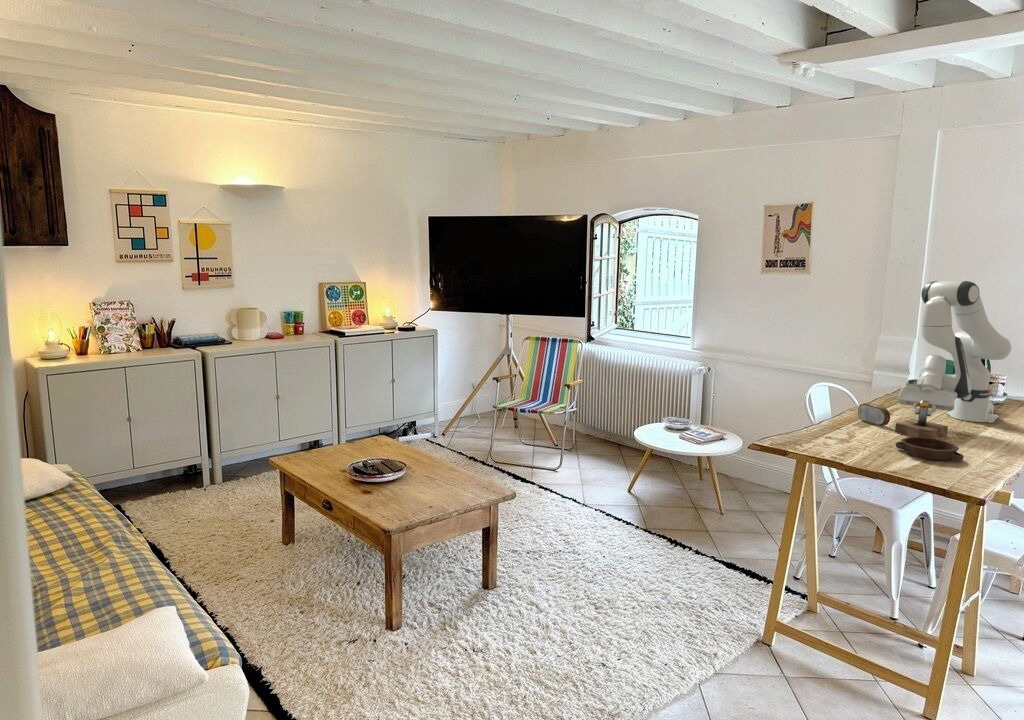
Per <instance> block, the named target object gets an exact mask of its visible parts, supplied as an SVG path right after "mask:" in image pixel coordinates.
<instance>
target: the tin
mask: <svg viewBox="0 0 1024 720" xmlns="http://www.w3.org/2000/svg"><path fill="white" fill-rule="evenodd" d="M857 414H858V418H859V419H860V420H861V421H863V422H865V423H867V424H871V423H872V424H871V425H874V424H875V426H877V425H879V426H878V427H881V426H883V425H884V426H887V425H888V424H889V423H890V422H891V421H890V420H891V414H890V412H889V410H888V409H887V408H886V407H884V406H883V405H879V404H878V405H877V404H875V403H871V402H865V403H861V404H859V406H858V408H857ZM884 426H883V427H884Z"/></svg>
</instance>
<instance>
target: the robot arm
mask: <svg viewBox="0 0 1024 720" xmlns="http://www.w3.org/2000/svg"><path fill="white" fill-rule="evenodd" d="M920 295H921V296H920V297H921V299H922V301H923V303H924V305H923V308H922V309H923V310H922V316H921V335H922V338H923V340H924V341H925V342H927V343H928V344H930V346H933V347H935V348H939V349H942V350H944V351H946V352H947V353H949V354H950V355H951V356H952V361H954V366H955V371H956V374H955V375H949V374H945V369H946V360H947V359H946V358H945V357H943V356H941V355H939V354H938V355H937V354H936V355H934V354H930V355H927V356H926V357H925V359H924V360H923V362H922V365H921V369H920V372H919V373H920V374H919V378H913V379H906V380H905V381H904V385H903V386H902V387H901V389H900V390H899V393H898V395H897V402H898V404H900V405H906V406H907V405H908V406H913V407H912V408H913V409H914V415H918V416H919V408H918V407H919V405H920V400H926V401H929V407H928V409H930V410H928V411H927V417H932V414H934V413H935V412H936V410H942V411H946V415H947V414H948V415H947V416H950V417H951V418H952V419H957V420H960V421H966V422H972V423H973V422H975V423H987V422H988V423H989V424H993V423H995V420H996V419H997V418H998V417H1000V416H999V415H997V414H994V404H993V402H992V400H991V399H990V394H992V389H991V388H989V385H990V379H991V372H990V370H989V369H988V368H987V367H985V365H984V364H983V362H982V360H990V361H999V360H1001V361H1002V360H1004V359H1006V358H1007V357H1008V356H1009V355H1010V354H1011V352H1012V344H1011V341H1010V340H1009V339H1008V338H1006V337H1005V336H1004V335H1002V334H1001V333H999V332H998V330H996V329H995V327H994V326H993V324H991V322H990V321H989V319H988V316H987V313H986V311H985V307H984V304H983V301H982V298H981V295H980V289H979V286H978V285H977V284H976V283H975V282H972V281H969V280H963V281H961V280H941V281H937V280H935V281H929V282H927V283H926V284H924V285H923V287H922V289H921V294H920ZM952 311H953V314H954V317H955V321H956V324H957V327H958V328H959V329H960V330H961V331H958V332H957V331H956V332H954V330H953V317H952ZM998 419H999V418H998ZM998 419H997V420H998ZM997 420H996V421H997Z"/></svg>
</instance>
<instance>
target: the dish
mask: <svg viewBox="0 0 1024 720" xmlns="http://www.w3.org/2000/svg"><path fill="white" fill-rule="evenodd" d="M895 447H896V448H897V449H899V450H903V451H905V452H906V453H907V454H909V455H910V456H912V457H913V456H914V457H915V456H916V458H919V459H923V460H929V461H936V460H937V461H938V462H941V461H942V462H944V461H947V462H948V461H949V460H955V461H963V459H964V457H965V456H964V455H963V454H961V453H959V452H958V451H959V450H960V448H959V446H957V445H955V444H954V443H952V442H949V441H946V440H941V439H939V438H938V439H933V438H924V437H912V436H909V437H905V438H902V439H900V441H897V442H895Z"/></svg>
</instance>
